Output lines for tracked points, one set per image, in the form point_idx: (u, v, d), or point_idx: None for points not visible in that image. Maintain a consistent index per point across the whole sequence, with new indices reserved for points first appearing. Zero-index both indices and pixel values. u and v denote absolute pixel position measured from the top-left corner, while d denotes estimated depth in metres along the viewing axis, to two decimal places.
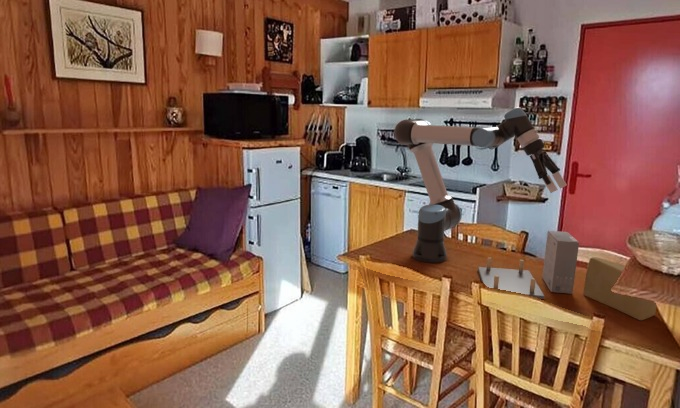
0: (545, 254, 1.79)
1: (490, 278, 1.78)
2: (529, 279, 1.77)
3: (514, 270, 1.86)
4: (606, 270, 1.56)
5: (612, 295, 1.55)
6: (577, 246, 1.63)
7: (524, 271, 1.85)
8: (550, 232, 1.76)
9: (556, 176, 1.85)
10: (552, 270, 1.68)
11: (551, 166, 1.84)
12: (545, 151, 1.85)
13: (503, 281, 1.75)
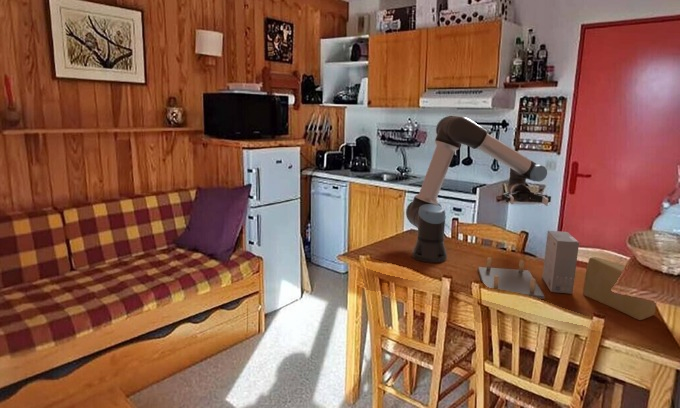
0: (545, 254, 1.80)
1: (490, 278, 1.78)
2: (529, 279, 1.77)
3: (514, 270, 1.86)
4: (606, 270, 1.56)
5: (611, 294, 1.55)
6: (577, 246, 1.63)
7: (524, 271, 1.85)
8: (550, 232, 1.76)
9: None
10: (552, 270, 1.68)
11: (513, 198, 2.01)
12: None
13: (503, 281, 1.75)
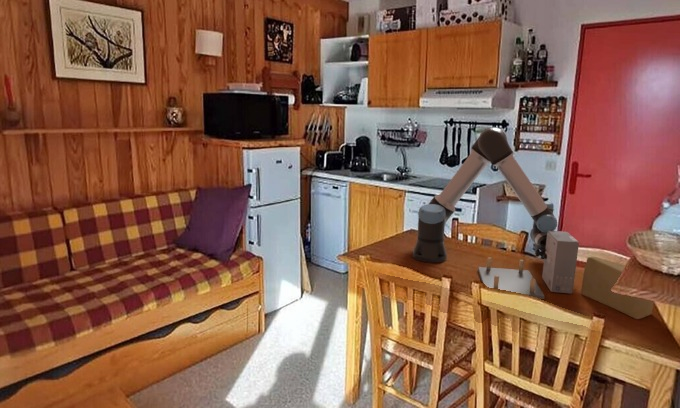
0: None
1: (490, 278, 1.78)
2: (529, 279, 1.77)
3: (514, 270, 1.86)
4: (604, 269, 1.57)
5: (609, 294, 1.55)
6: (577, 246, 1.63)
7: (524, 271, 1.85)
8: (550, 232, 1.76)
9: None
10: (552, 270, 1.68)
11: None
12: (534, 249, 1.87)
13: (503, 281, 1.75)
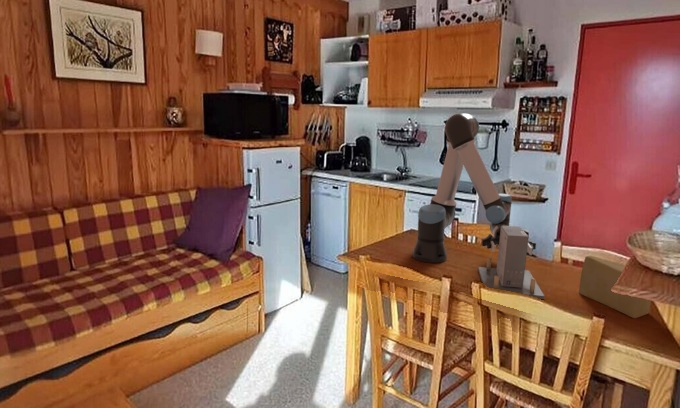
0: None
1: (490, 278, 1.78)
2: (529, 279, 1.77)
3: None
4: (601, 268, 1.58)
5: (606, 293, 1.56)
6: (527, 240, 1.64)
7: None
8: (503, 227, 1.77)
9: None
10: (503, 264, 1.69)
11: (495, 243, 1.82)
12: None
13: None
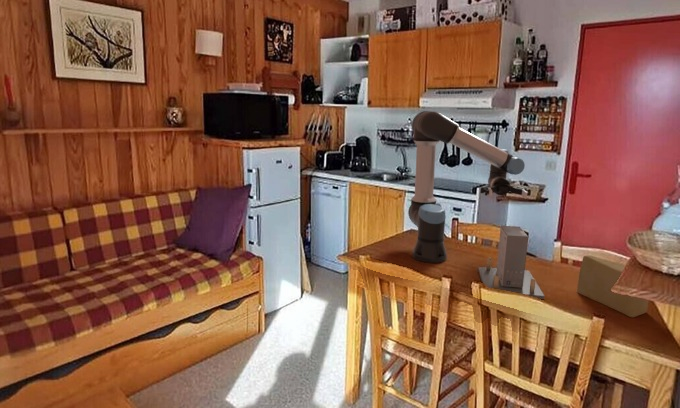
0: (498, 249, 1.80)
1: (490, 278, 1.78)
2: (529, 279, 1.77)
3: None
4: (599, 268, 1.58)
5: (604, 292, 1.57)
6: (526, 240, 1.64)
7: None
8: (502, 227, 1.77)
9: None
10: (503, 264, 1.69)
11: (492, 191, 1.95)
12: None
13: None
